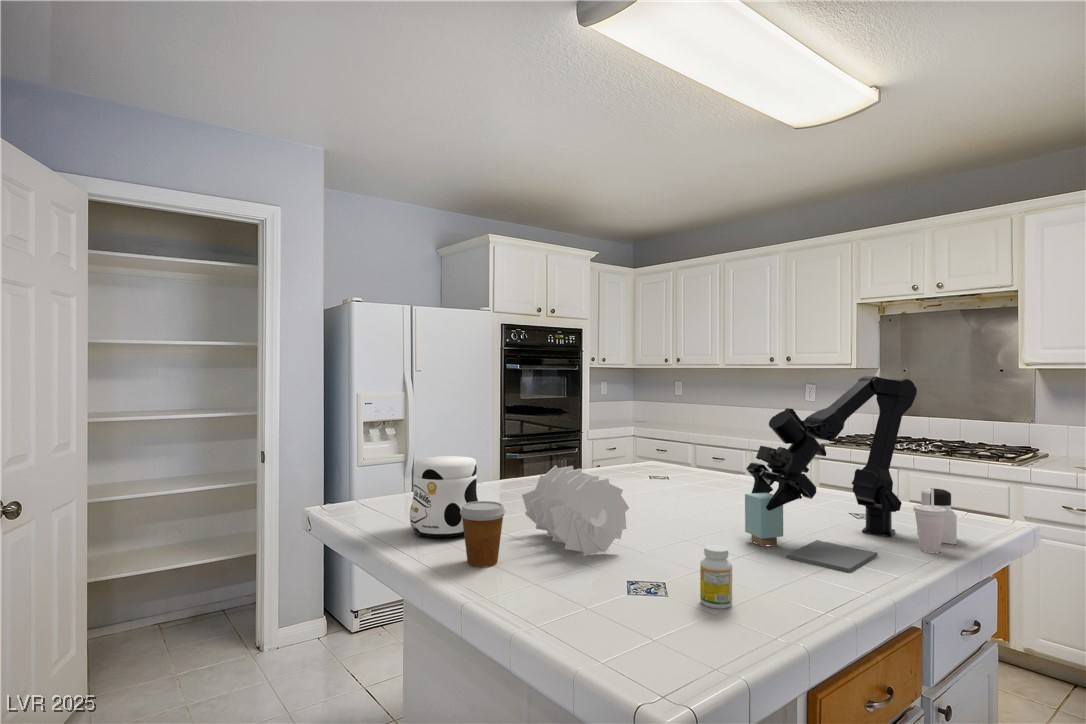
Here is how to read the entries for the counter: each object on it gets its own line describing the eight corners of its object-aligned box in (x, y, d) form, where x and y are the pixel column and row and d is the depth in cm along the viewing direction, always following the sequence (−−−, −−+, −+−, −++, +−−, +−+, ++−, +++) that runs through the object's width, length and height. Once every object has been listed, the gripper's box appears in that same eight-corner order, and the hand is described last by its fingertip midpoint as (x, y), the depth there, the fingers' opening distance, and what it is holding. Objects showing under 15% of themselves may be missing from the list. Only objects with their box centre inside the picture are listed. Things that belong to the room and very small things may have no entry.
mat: (817, 543, 141) (817, 540, 141) (877, 556, 131) (877, 552, 131) (786, 557, 130) (786, 554, 130) (849, 572, 120) (849, 568, 120)
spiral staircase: (568, 546, 152) (618, 571, 129) (508, 521, 146) (549, 543, 123) (594, 478, 156) (647, 491, 133) (537, 452, 150) (582, 460, 128)
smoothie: (952, 556, 132) (952, 492, 132) (920, 554, 133) (919, 490, 133) (939, 547, 138) (939, 486, 138) (908, 545, 139) (908, 485, 139)
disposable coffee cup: (469, 572, 120) (469, 512, 120) (453, 559, 128) (453, 503, 128) (512, 565, 124) (512, 507, 124) (494, 553, 133) (494, 498, 133)
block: (765, 540, 143) (765, 524, 143) (776, 545, 139) (776, 528, 140) (751, 542, 142) (751, 525, 142) (762, 547, 138) (762, 529, 138)
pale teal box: (766, 529, 145) (766, 492, 145) (783, 536, 139) (783, 497, 139) (745, 531, 143) (744, 493, 143) (761, 538, 137) (761, 499, 137)
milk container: (395, 537, 145) (395, 462, 145) (434, 521, 161) (434, 453, 161) (457, 545, 139) (458, 467, 139) (491, 527, 155) (492, 457, 155)
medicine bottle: (951, 537, 146) (950, 488, 147) (957, 545, 140) (956, 493, 140) (916, 534, 149) (916, 485, 150) (921, 541, 143) (920, 490, 143)
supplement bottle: (724, 612, 101) (724, 554, 101) (694, 604, 104) (694, 548, 104) (737, 602, 105) (737, 547, 105) (708, 595, 108) (708, 541, 108)
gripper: (752, 430, 151) (714, 476, 148) (805, 438, 133) (763, 491, 130) (779, 460, 153) (742, 506, 150) (834, 472, 136) (794, 524, 132)
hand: (758, 506), depth 141 cm, fingers closed on pale teal box, 6 cm apart
